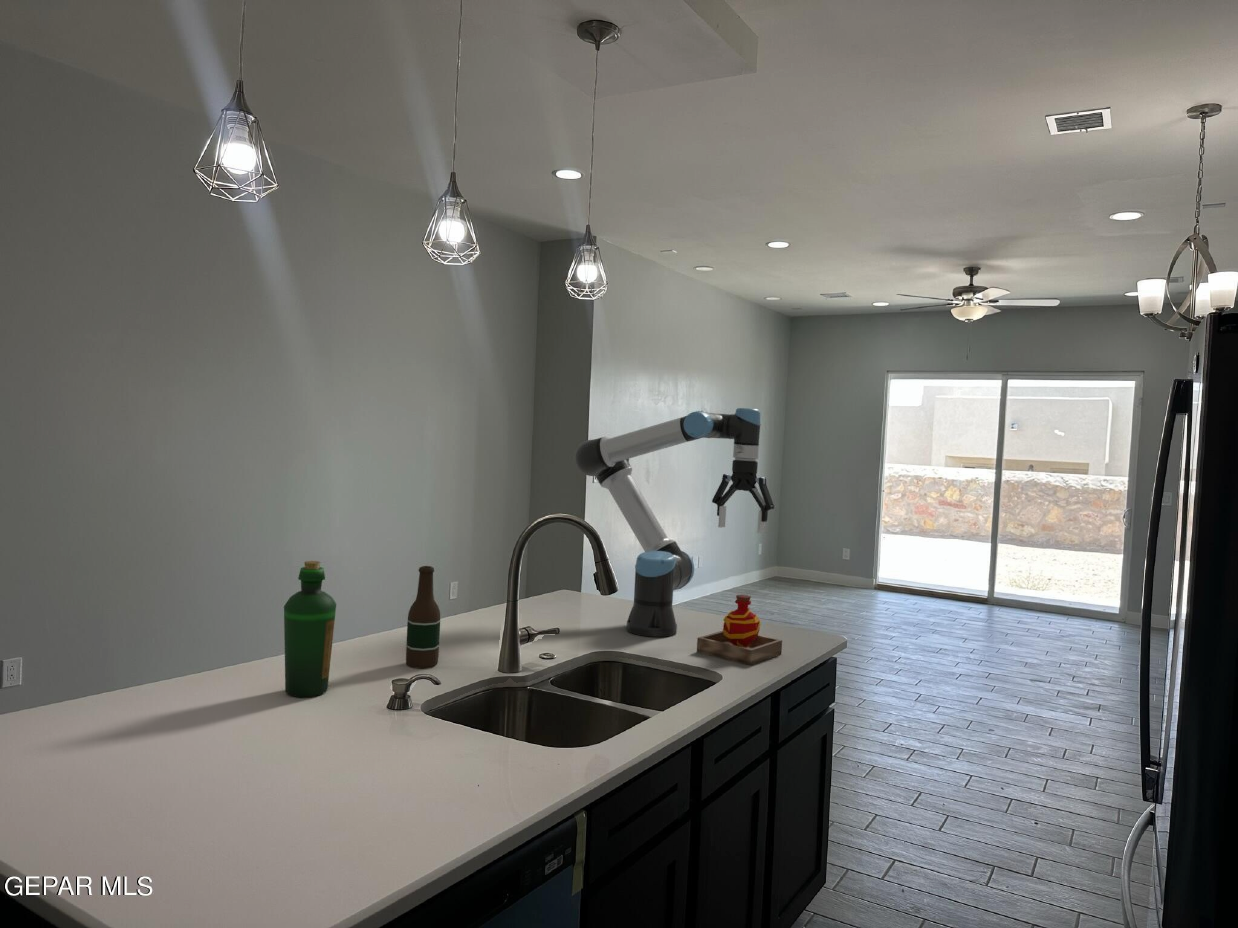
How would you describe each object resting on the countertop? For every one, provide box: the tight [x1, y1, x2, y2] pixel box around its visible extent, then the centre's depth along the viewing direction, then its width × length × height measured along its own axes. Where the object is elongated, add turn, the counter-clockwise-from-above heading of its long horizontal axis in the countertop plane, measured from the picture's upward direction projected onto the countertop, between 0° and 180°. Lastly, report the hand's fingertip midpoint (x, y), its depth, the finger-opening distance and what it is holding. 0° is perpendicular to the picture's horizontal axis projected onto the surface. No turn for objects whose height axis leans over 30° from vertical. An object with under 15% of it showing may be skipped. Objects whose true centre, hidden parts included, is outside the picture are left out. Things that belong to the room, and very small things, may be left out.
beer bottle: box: [405, 565, 441, 670], centre depth 208 cm, size 8×8×24 cm
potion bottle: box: [722, 594, 762, 649], centre depth 237 cm, size 10×10×15 cm
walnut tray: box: [696, 630, 783, 666], centre depth 237 cm, size 17×17×4 cm
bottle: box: [283, 560, 337, 698], centre depth 183 cm, size 11×11×28 cm
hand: (740, 529), depth 259 cm, fingers open, 13 cm apart
